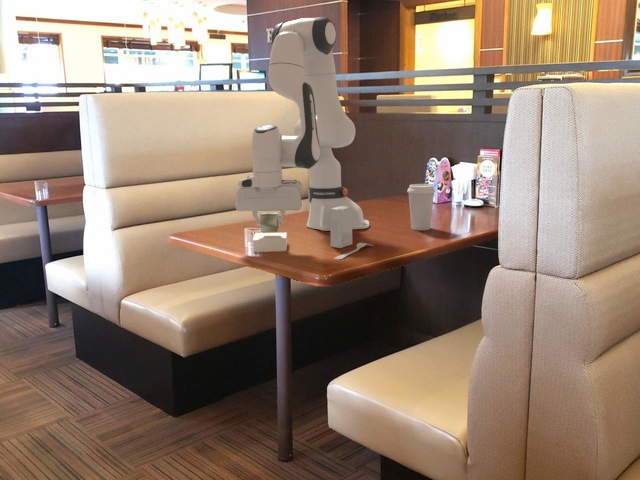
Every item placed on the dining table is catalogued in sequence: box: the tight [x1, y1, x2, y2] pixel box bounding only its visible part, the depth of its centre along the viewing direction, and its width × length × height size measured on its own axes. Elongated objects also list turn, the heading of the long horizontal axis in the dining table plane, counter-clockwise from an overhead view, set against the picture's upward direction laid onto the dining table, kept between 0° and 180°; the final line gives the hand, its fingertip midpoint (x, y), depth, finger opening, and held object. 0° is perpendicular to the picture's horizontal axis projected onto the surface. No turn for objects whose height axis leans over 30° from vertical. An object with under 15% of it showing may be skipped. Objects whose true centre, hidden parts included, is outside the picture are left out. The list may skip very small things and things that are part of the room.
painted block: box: [252, 232, 288, 253], centre depth 197 cm, size 10×10×4 cm
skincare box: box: [329, 206, 353, 249], centre depth 196 cm, size 6×4×12 cm
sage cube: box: [259, 212, 280, 233], centre depth 196 cm, size 5×5×5 cm
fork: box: [333, 242, 374, 260], centre depth 189 cm, size 3×21×3 cm, turn 146°
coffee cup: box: [406, 183, 436, 231], centre depth 218 cm, size 10×10×15 cm
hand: (269, 224), depth 196 cm, fingers closed on sage cube, 5 cm apart
